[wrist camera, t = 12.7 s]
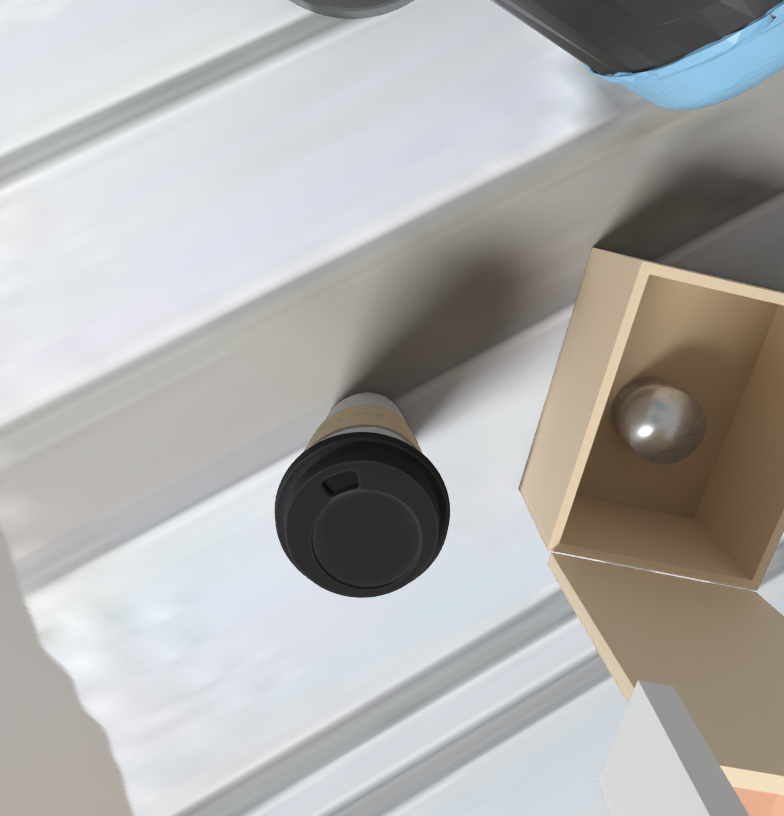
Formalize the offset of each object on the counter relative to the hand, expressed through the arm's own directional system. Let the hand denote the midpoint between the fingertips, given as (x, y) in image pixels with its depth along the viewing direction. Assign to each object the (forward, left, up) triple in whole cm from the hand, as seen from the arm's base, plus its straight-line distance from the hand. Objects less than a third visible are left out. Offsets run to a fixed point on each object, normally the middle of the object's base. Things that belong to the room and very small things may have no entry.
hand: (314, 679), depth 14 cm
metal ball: (+1, +21, -34) cm, 40 cm away
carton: (0, +21, -35) cm, 41 cm away
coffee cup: (+7, +2, -35) cm, 36 cm away
